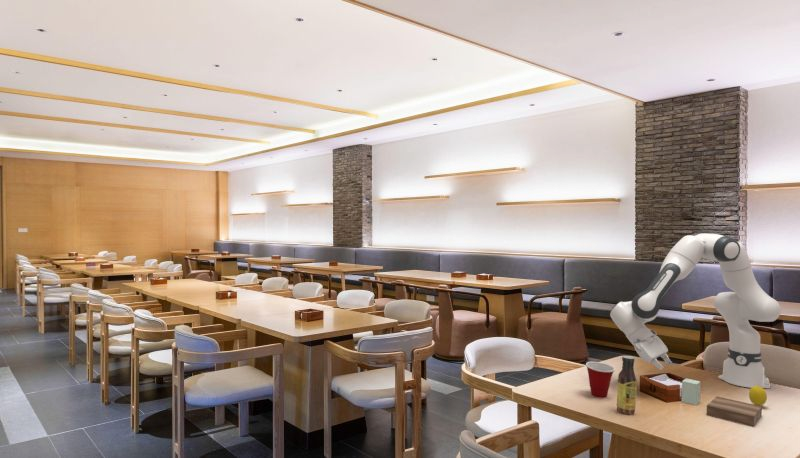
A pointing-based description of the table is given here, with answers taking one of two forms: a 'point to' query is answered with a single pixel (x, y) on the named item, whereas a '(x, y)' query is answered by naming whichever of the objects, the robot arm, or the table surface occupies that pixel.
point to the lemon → (757, 395)
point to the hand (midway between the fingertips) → (666, 366)
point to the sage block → (691, 391)
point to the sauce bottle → (627, 387)
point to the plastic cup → (599, 378)
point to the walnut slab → (734, 411)
